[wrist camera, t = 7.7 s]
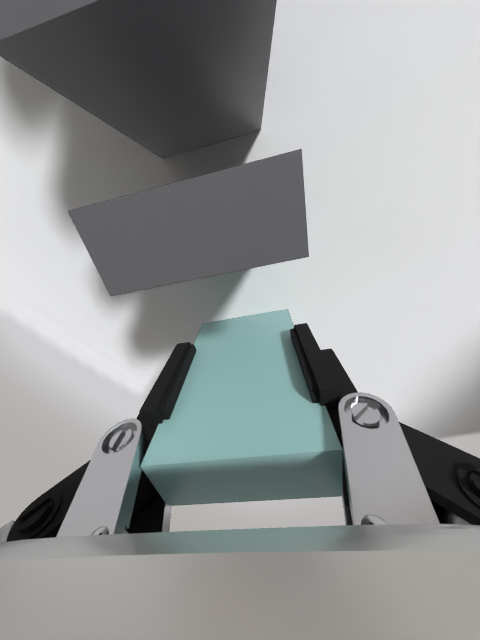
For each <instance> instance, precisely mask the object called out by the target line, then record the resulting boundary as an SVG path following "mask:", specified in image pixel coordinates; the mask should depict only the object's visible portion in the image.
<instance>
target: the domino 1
mask: <svg viewBox="0 0 480 640" xmlns="http://www.w3.org/2000/svg"><path fill="white" fill-rule="evenodd" d="M276 1H277V0H0V56H1V57H3V58H4V59H6V60H7V61H9V62H11V63H12V64H14V65H15V66H17V67H18V68H20V69H22V70H23V71H25V72H26V73H28V74H30V75H31V76H33V77H34V78H36V79H37V80H39V81H41V82H42V83H44V84H45V85H47V86H49V87H50V88H52V89H53V90H55V91H57V92H58V93H60V94H61V95H63V96H64V97H66V98H68V99H69V100H71V101H72V102H74V103H76V104H77V105H79V106H80V107H82V108H83V109H85V110H87V111H88V112H90V113H91V114H93V115H95V116H96V117H98V118H99V119H101V120H102V121H104V122H106V123H107V124H109V125H110V126H112V127H114V128H115V129H117V130H118V131H120V132H122V133H123V134H125V135H126V136H128V137H129V138H131V139H133V140H134V141H136V142H137V143H139V144H141V145H142V146H144V147H145V148H147V149H148V150H150V151H152V152H153V153H155V154H156V155H158V156H160V157H161V158H164V157H167V156H171V155H174V154H178V153H181V152H185V151H189V150H192V149H196V148H199V147H203V146H206V145H210V144H213V143H217V142H220V141H224V140H227V139H231V138H234V137H238V136H241V135H245V134H248V133H252V132H255V131H259V130H261V123H262V115H263V107H264V98H265V90H266V82H267V74H268V66H269V58H270V50H271V42H272V34H273V26H274V17H275V9H276Z"/></svg>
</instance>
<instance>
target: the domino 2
mask: <svg viewBox="0 0 480 640" xmlns="http://www.w3.org/2000/svg"><path fill="white" fill-rule="evenodd" d="M68 213H69V215H70V217H71V219H72V221H73V223H74V225H75V227H76V229H77V231H78V233H79V235H80V237H81V238H82V240H83V242H84V244H85V246H86V248H87V250H88V252H89V254H90V256H91V258H92V260H93V262H94V264H95V266H96V268H97V270H98V272H99V274H100V276H101V278H102V280H103V282H104V284H105V286H106V288H107V290H108V292H109V294H110V296H116V295H121V294H125V293H130V292H135V291H140V290H145V289H150V288H155V287H160V286H165V285H170V284H175V283H180V282H185V281H190V280H195V279H200V278H205V277H210V276H215V275H220V274H225V273H230V272H235V271H240V270H245V269H250V268H255V267H260V266H265V265H270V264H275V263H280V262H285V261H290V260H295V259H300V258H305V257H309V253H308V238H307V223H306V208H305V194H304V179H303V164H302V149H299V150H295V151H292V152H288V153H284V154H280V155H277V156H273V157H269V158H265V159H262V160H258V161H254V162H250V163H247V164H243V165H239V166H235V167H232V168H228V169H224V170H220V171H216V172H213V173H209V174H205V175H201V176H198V177H194V178H190V179H186V180H183V181H179V182H175V183H171V184H168V185H164V186H160V187H156V188H153V189H149V190H145V191H141V192H138V193H134V194H130V195H126V196H123V197H119V198H115V199H111V200H107V201H104V202H100V203H96V204H92V205H89V206H85V207H81V208H77V209H74V210H70V211H68Z"/></svg>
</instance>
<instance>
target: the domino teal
mask: <svg viewBox="0 0 480 640" xmlns="http://www.w3.org/2000/svg"><path fill="white" fill-rule="evenodd" d="M293 328H294V324H293V322H292V319H291V316H290V314H289V311H288V309H285V310H279V311H274V312H268V313H262V314H256V315H250V316H244V317H238V318H232V319H226V320H221V321H215V322H209V323H203V324H202V326H201V329H200V331H199V333H198V335H197V338H196V340H195V342H194V345H195V347H196V350H197V351H196V354H195V356H194V359H193V361H192V364H191V366H190V369H189V371H188V374H187V377H186V379H185V382H184V384H183V387H182V389H181V392H180V394H179V397H178V399H177V402H176V405H175V407H174V410H173V412H172V415H171V417H170V419H169V420H163V423H162V424H159V425H158V427H157V429H156V431H155V434H154V436H153V438H152V441H151V443H150V445H149V447H148V450H147V452H146V454H145V457H144V459H143V461H142V463H141V466H140V467H141V468H142V469H143V471H144V472H145V474H146V475H147V477H148V478H149V480H150V481H151V483H152V484H153V485H154V487H155V488H156V490H157V491H158V493H159V494H160V496H161V497H162V499H163V500H164V502H165V503H166V504H167V506H173V505H191V504H209V503H226V502H245V501H263V500H282V499H301V498H319V497H336V496H342V447H341V444H340V442H339V439H338V437H337V434H336V432H335V429H334V427H333V424H332V421H331V419H330V416H329V414H328V411H327V409H326V406H321V405H320V403H312V400H311V397H310V394H309V391H308V388H307V385H306V382H305V379H304V376H303V373H302V369H301V366H300V363H299V360H298V357H297V354H296V351H295V348H294V345H293V342H292V339H291V335H290V329H293Z"/></svg>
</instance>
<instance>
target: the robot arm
mask: <svg viewBox="0 0 480 640" xmlns="http://www.w3.org/2000/svg"><path fill="white" fill-rule="evenodd" d="M290 335H291V339H292V342H293V345H294V348H295V351H296V354H297V357H298V360H299V363H300V366H301V369H302V373H303V376H304V379H305V382H306V385H307V388H308V391H309V394H310V397H311V400H312V403H320V405H321V406H326V409H327V411H328V414H329V416H330V419H331V421H332V424H333V427H334V429H335V432H336V434H337V437H338V439H339V442H340V444H341V447H342V499H343V508H344V516H345V526H318V527H288V528H260V529H233V530H207V531H182V532H169V528H170V518H171V506H167V504H166V503H165V502H164V500H163V499H162V497H161V496H160V494H159V493H158V491H157V490H156V488H155V487H154V485H153V484H152V483H151V481H150V480H149V478H148V477H147V475H146V474H145V472H144V471H143V469H142V468H141V467H140V466H141V463H142V461H143V459H144V457H145V454H146V452H147V450H148V447H149V445H150V443H151V441H152V438H153V436H154V434H155V431H156V429H157V427H158V425H159V424H162V423H163V420H169V419H170V417H171V415H172V412H173V410H174V407H175V405H176V402H177V399H178V397H179V394H180V392H181V389H182V387H183V384H184V382H185V379H186V377H187V374H188V371H189V369H190V366H191V364H192V361H193V359H194V356H195V354H196V351H197V350H196V347H195V345H193V344H192V345H191V343H190V342H186V343H180V344H177V345H176V347H175V349H174V350H173V352H172V354H171V356H170V358H169V359H168V361H167V363H166V365H165V366H164V368H163V370H162V372H161V374H160V375H159V377H158V379H157V381H156V382H155V384H154V386H153V388H152V390H151V391H150V393H149V395H148V397H147V399H146V400H145V402H144V404H143V406H142V407H141V409H140V411H139V412H140V413H139V415H138V417H137V419H127V420H124V421H122V422H119V423H118V424H116V425H115V426H113V427H112V428H111V429H109V430H108V431H107V432H106V433H105V434H104V436H103V437H102V438H101V440H100V442H99V443H98V445H97V447H96V450H95V452H94V454H93V457H92V459H91V460H90V461H89V462H87V463H86V464H84V465H83V466H82V467H80V468H79V469H78V470H76V471H75V472H73V473H72V474H70V475H69V476H68V477H66V478H65V479H63V480H62V481H61V482H59V483H58V484H56V485H55V486H54V487H52V488H51V489H49V490H48V491H47V492H46V493H44V494H42V495H41V496H40V497H38V498H37V499H36V500H35V501H34V502H32V503H31V504H30V505H29V506H28V507H27V508H26V509H25V510H24V511H23V512H22V513H21V515H20V516H19V517H18V519H17V520H16V521H13V520H12V521H11V522H9V523H8V524H6V525H4V526H3V527H1V528H0V640H480V459H479V458H477V457H475V456H473V455H471V454H469V453H466V452H464V451H462V450H460V449H458V448H455V447H453V446H451V445H448V444H447V443H444V442H442V441H440V440H438V439H435V438H433V437H431V436H429V435H427V434H424V433H422V432H420V431H418V430H416V429H413V428H411V427H409V426H407V425H405V424H402V423H400V422H398V419H397V417H396V414H395V412H394V411H393V409H392V407H391V406H390V405H389V404H387V403H386V402H385V401H384V400H382V399H380V398H379V397H377V396H374V395H371V394H368V393H361V392H360V393H358V392H357V390H356V388H355V387H354V385H353V383H352V382H351V380H350V378H349V377H348V375H347V373H346V372H345V370H344V368H343V367H342V365H341V363H340V362H339V360H338V358H337V357H336V355H335V353H334V352H333V350H332V349H325V350H320V348H319V346H318V344H317V342H316V340H315V338H314V337H313V335H312V333H311V331H310V329H309V327H308V325H307V323H304V324H298V325H294V328H293V329H290Z"/></svg>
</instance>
